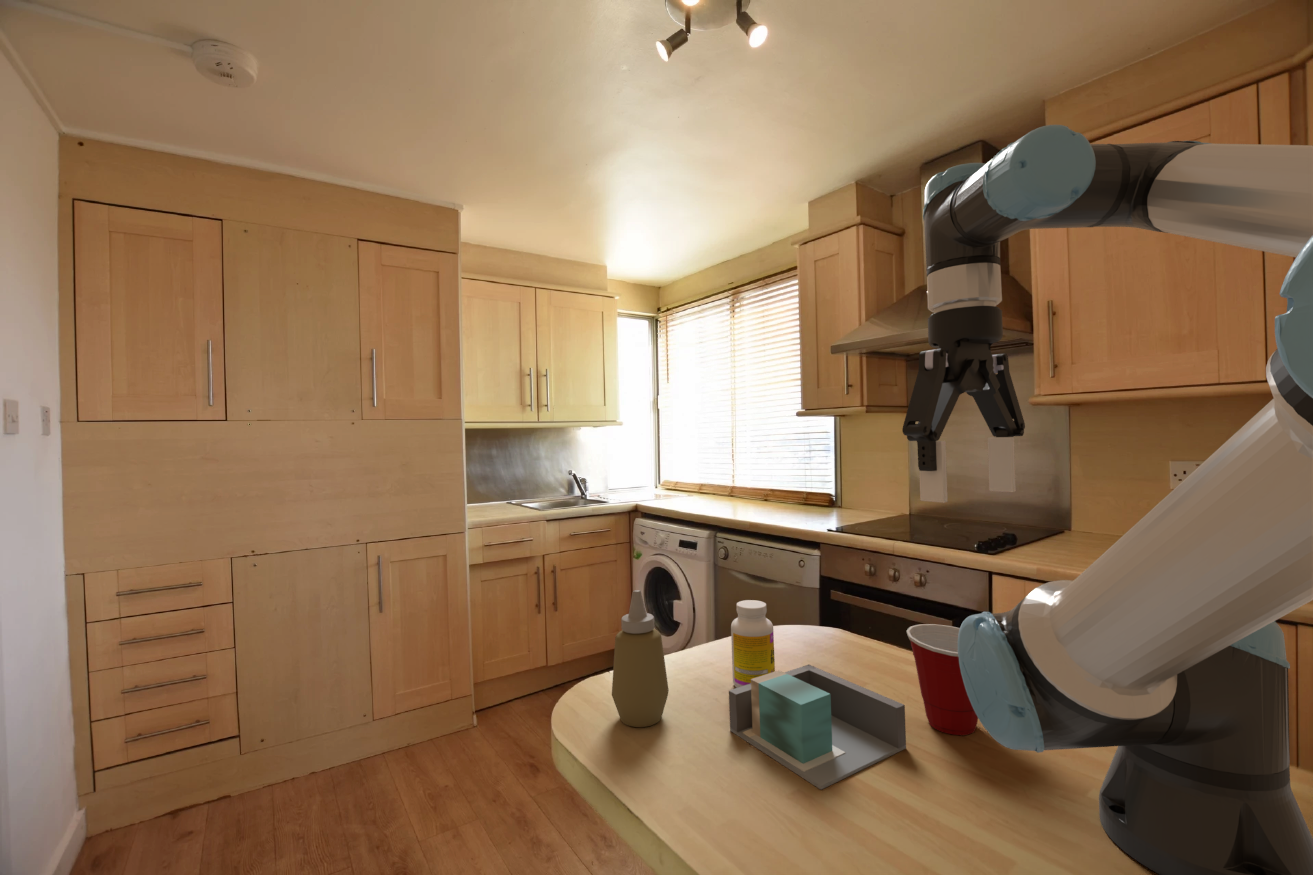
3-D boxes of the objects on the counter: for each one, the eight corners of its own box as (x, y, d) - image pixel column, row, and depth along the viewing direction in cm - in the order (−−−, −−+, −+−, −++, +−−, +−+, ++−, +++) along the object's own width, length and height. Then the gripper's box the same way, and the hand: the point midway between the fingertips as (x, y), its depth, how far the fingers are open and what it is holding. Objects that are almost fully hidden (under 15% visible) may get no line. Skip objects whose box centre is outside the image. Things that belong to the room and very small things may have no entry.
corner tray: (906, 748, 73) (904, 704, 73) (820, 789, 65) (819, 741, 65) (810, 700, 87) (808, 664, 87) (730, 730, 79) (728, 690, 79)
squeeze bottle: (638, 700, 89) (634, 581, 89) (681, 714, 84) (676, 588, 84) (600, 721, 83) (596, 593, 83) (644, 738, 78) (639, 602, 78)
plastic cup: (1004, 753, 71) (1001, 654, 71) (907, 736, 76) (904, 643, 76) (996, 713, 81) (993, 626, 81) (910, 701, 86) (908, 618, 86)
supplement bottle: (779, 693, 89) (776, 609, 89) (735, 695, 90) (732, 610, 90) (771, 675, 96) (768, 597, 96) (730, 677, 96) (728, 598, 96)
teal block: (752, 732, 77) (750, 679, 77) (780, 721, 80) (779, 670, 80) (803, 763, 70) (801, 704, 70) (832, 750, 72) (830, 693, 72)
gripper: (991, 323, 77) (996, 486, 77) (863, 307, 64) (870, 503, 64) (1054, 312, 70) (1060, 489, 71) (926, 292, 57) (934, 509, 58)
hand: (969, 496), depth 67 cm, fingers open, 13 cm apart
